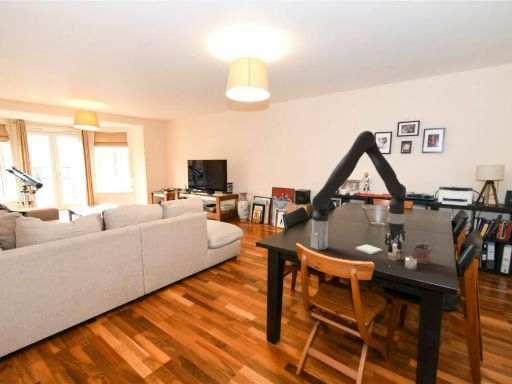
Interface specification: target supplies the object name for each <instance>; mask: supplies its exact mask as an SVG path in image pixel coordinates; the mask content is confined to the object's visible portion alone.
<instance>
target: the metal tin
mask: <svg viewBox="0 0 512 384" xmlns="http://www.w3.org/2000/svg"><path fill="white" fill-rule="evenodd" d="M417 264H418V263H417V258H415V257H413V256H410V255H408V256H407V255H406V256H405V257H404V268H405V269H406V270H410V271H416V270H417V269H418V268H417V266H418V265H417Z"/></svg>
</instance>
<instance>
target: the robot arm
mask: <svg viewBox="0 0 512 384" xmlns="http://www.w3.org/2000/svg"><path fill="white" fill-rule="evenodd" d="M364 154H366V155H367V156H368V158H369V159H370V160H371V162H372V164H373V166H374V168H375V170H376V172H377V174H378V176H379V177H380V179H381V180H382V181H383V183H384V186H385V188H386V190H387V192H388V194H389V195H390V203H389V206H388V207H389V208H388V209H389V210H388V218H387V220H388V221H387V229H388V230H389V233H386V234H385V239H384V245H386V246H387V252H389V253H392V252H393V244H397V249H398V250H400V251H401V250H402V248H403V242H405V241H406V230H405V218H406V217H405V203H406V198H407V197H406V196H407V188H406V186H405V185H404V184H403V183H400V181H399V179H398V178H397V173H396V172H395V170H394V169H393V167H392V166H391V164H390V163H389V161H388V160H387V159H386V158H385V156H384V155H383V153H382V151H381V150H380V148H379V146H378V142H377V141H376V135H374V133H373V132H372V131H370V130H364V131H362V132H360V133H359V134H358V135H357V136H356V138H355V140H354V142H353V144H352V145H351V147H350V149H348V151H347V153H345V155H344V156H343V157H342V158H341V160H339V163H338V164H336V166H335V168H333V170H332V172H331V173H330V175H329V177H328V178H327V180H326V182H325V184H324V185H323V187H322V188H321V189H320V190H319V191H318V192H317V193H316V194H315V195H314V197H313V198H312V202H311V204H312V207H313V208H312V209H313V210H312V218H311V219H312V221H311V222H312V223H311V224H312V225H311V226H312V227H311V232H310V248H312V249H315V250H317V251H319V250H327V248H328V236H329V235H328V233H329V232H328V231H329V230H328V229H329V214H330V213H329V211H330V210H329V209H330V202H331V200H332V199H333V197H334V195H335V194H336V192H337V191H338V190H339V189H340V188H341V187H342V186H343V185H344V184H345V183H346V182H347V181H348V179H349V178H350V176H351V175H352V174H353V172H354V171H355V169H356V167H357V165H358V163H359V161H360V160H361V157H362V156H364Z"/></svg>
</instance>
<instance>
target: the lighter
mask: <svg viewBox="0 0 512 384" xmlns="http://www.w3.org/2000/svg"><path fill="white" fill-rule="evenodd" d="M430 247H431V244H430V243H423V242H420V243H418V242H417V243H416V244H415V246H413V247H412V250H413V251H412V252H413V253H412V257H415V258H417V264H419V263H420V264H428V265H429V264H431V256H432V255H431V254H432V248H430Z"/></svg>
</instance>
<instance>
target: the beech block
mask: <svg viewBox="0 0 512 384" xmlns="http://www.w3.org/2000/svg"><path fill="white" fill-rule="evenodd" d="M387 252H388V251H387ZM400 252H401V250H399V249H398V250H397V249H394V248H393V252H392V253H389V252H388V253H387V259H389V260H392V261H398V260H400V257H401V255H400V254H401V253H400Z"/></svg>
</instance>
